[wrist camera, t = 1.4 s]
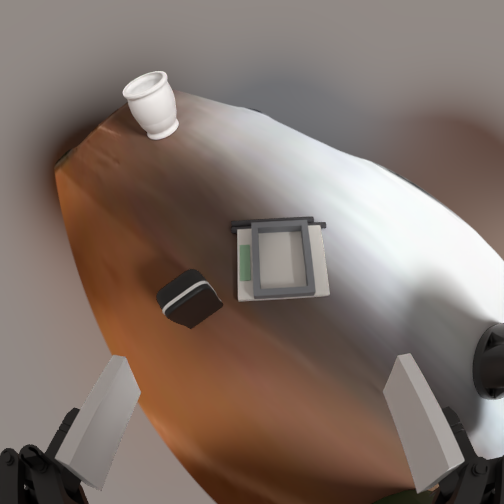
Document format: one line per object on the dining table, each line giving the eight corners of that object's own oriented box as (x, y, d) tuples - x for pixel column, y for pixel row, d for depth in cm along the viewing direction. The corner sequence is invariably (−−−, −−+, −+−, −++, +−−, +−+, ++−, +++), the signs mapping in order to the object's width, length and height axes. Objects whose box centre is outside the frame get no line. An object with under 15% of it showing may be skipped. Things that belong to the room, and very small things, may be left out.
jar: (163, 147, 57) (141, 98, 43) (136, 138, 60) (113, 94, 46) (191, 120, 60) (176, 71, 47) (162, 113, 63) (146, 69, 49)
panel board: (319, 227, 46) (322, 219, 43) (328, 295, 41) (332, 290, 38) (238, 232, 46) (235, 223, 44) (238, 301, 42) (236, 296, 39)
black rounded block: (212, 286, 43) (192, 259, 33) (225, 305, 42) (209, 283, 31) (177, 311, 42) (147, 292, 31) (189, 330, 40) (161, 317, 30)
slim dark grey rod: (323, 218, 46) (324, 215, 45) (325, 229, 46) (326, 226, 45) (232, 223, 47) (231, 220, 46) (232, 234, 46) (231, 231, 46)
